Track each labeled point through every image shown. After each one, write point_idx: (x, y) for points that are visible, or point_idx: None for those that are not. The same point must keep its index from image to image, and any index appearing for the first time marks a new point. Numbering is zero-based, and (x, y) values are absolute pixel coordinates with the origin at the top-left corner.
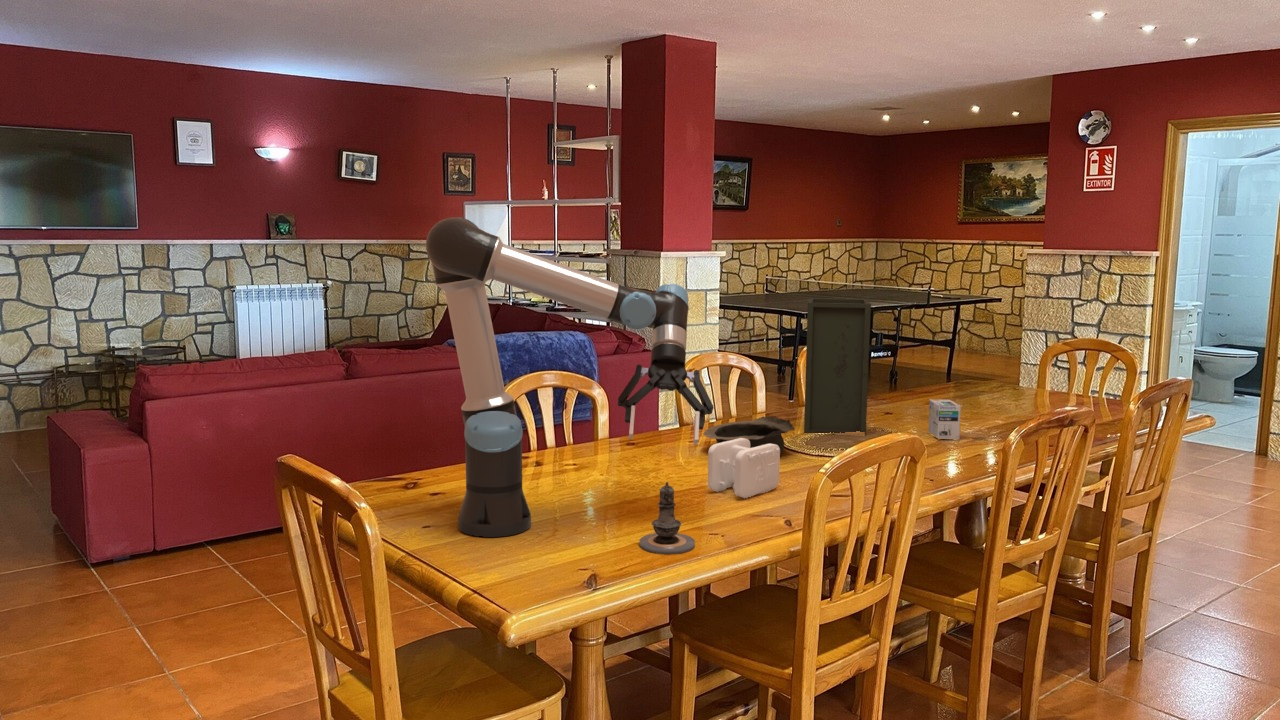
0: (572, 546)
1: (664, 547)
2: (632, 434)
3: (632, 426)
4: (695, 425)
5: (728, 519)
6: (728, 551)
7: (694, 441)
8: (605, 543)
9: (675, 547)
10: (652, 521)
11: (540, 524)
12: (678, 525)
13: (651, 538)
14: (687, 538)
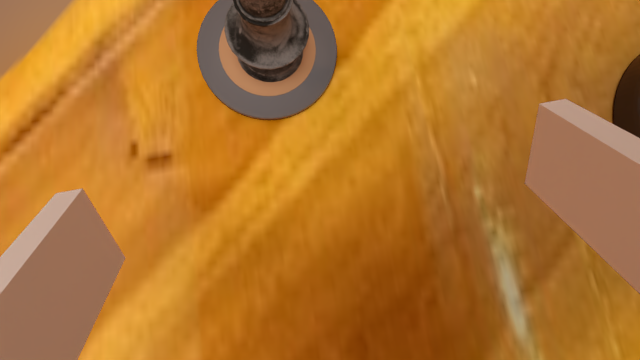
0: (482, 12)
1: None
2: (540, 110)
3: (590, 127)
4: (14, 277)
5: (125, 298)
6: (112, 31)
7: (98, 218)
8: (414, 44)
9: None
10: (308, 34)
11: None
12: (230, 8)
13: (309, 58)
14: (219, 77)
